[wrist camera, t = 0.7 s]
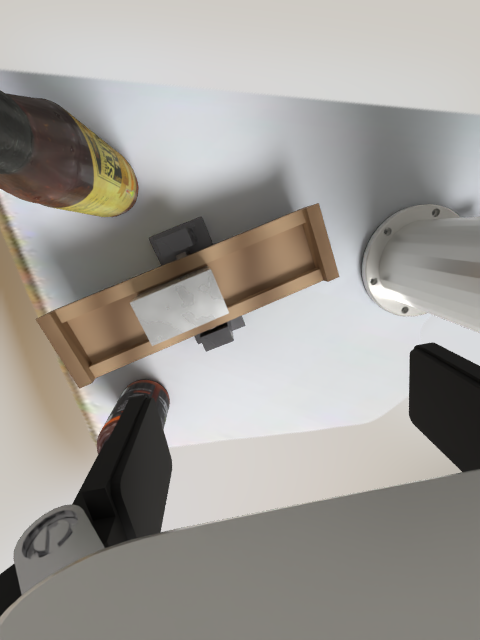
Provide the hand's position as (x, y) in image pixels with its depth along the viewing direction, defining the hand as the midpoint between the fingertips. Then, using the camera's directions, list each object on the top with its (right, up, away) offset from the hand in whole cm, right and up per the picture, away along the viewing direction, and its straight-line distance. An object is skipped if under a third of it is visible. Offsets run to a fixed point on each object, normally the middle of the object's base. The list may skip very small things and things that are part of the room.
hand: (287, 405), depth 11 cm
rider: (-7, +5, +18) cm, 20 cm away
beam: (-6, +7, +21) cm, 23 cm away
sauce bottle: (-15, +17, +20) cm, 30 cm away
